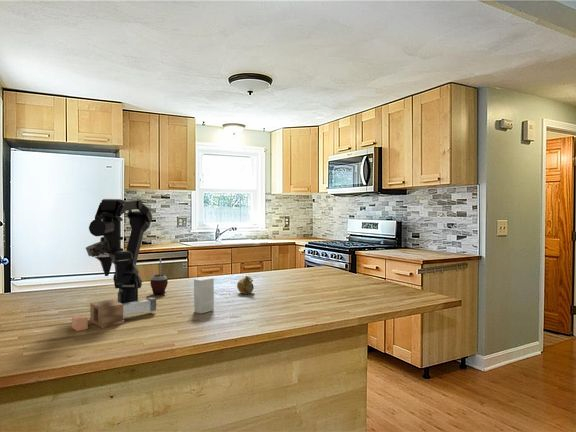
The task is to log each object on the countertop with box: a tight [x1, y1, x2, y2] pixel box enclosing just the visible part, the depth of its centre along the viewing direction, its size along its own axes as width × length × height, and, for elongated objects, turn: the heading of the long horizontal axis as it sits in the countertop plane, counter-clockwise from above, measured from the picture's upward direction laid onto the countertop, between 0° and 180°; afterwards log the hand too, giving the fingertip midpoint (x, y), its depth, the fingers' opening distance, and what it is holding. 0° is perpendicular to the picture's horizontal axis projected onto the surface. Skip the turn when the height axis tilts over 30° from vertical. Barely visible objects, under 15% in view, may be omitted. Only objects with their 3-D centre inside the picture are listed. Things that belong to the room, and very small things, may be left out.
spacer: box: [71, 314, 88, 332], centre depth 126 cm, size 4×4×3 cm
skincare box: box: [193, 276, 215, 314], centre depth 147 cm, size 6×4×12 cm
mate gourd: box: [150, 257, 169, 296], centre depth 175 cm, size 8×8×15 cm
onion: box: [236, 275, 255, 295], centre depth 177 cm, size 8×8×8 cm
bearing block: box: [89, 299, 125, 329], centre depth 132 cm, size 7×10×6 cm
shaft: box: [123, 296, 157, 317], centre depth 138 cm, size 18×3×4 cm, turn 137°
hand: (112, 277), depth 144 cm, fingers open, 9 cm apart
